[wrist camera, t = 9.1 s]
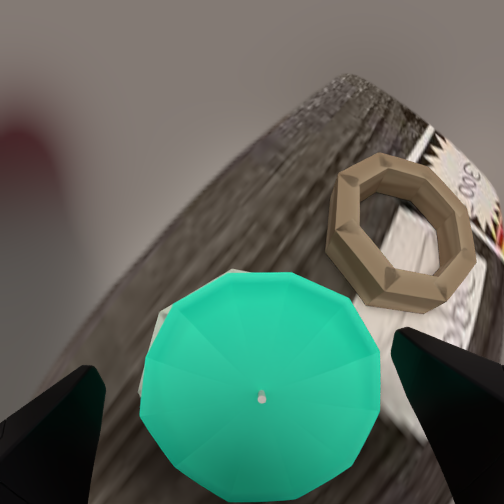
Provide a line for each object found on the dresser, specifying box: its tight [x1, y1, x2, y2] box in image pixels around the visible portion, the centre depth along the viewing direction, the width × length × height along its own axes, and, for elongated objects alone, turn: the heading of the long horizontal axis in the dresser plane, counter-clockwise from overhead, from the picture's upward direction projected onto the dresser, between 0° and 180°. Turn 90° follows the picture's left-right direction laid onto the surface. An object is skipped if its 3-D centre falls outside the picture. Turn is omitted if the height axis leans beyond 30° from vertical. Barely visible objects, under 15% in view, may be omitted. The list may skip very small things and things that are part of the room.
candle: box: [140, 272, 381, 502], centre depth 10 cm, size 6×6×12 cm
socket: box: [325, 153, 477, 314], centre depth 17 cm, size 11×11×3 cm
